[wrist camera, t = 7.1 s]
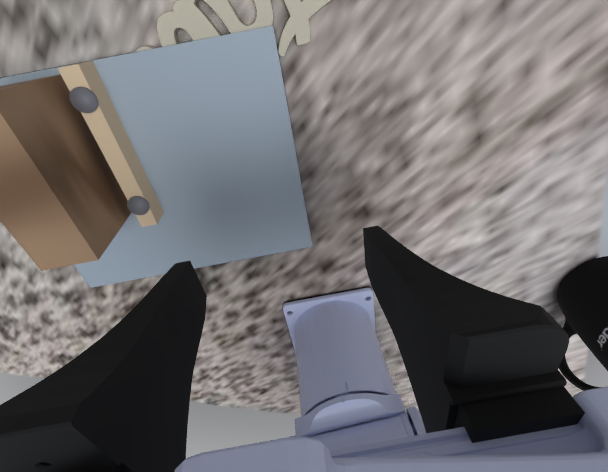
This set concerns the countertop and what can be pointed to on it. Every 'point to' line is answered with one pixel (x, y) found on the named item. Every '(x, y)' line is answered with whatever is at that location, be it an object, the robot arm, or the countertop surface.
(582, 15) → the countertop surface
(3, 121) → the brown square box
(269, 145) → the blue flat mat
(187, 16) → the decorative sign
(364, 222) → the countertop surface
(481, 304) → the robot arm
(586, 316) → the mug
